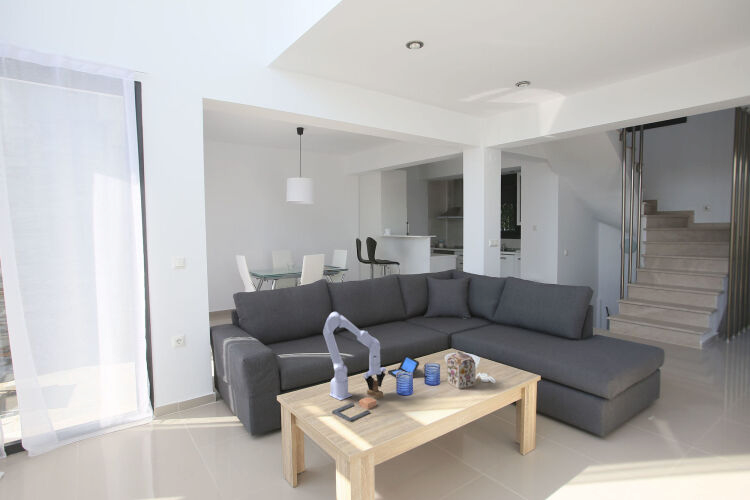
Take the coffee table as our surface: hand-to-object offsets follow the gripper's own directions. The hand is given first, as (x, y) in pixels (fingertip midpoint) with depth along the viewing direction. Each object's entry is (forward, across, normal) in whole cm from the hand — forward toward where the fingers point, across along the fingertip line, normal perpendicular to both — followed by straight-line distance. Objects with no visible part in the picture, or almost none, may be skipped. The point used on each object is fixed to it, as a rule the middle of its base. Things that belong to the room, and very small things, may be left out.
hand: (375, 388), depth 218 cm
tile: (+4, -11, -6) cm, 13 cm away
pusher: (+4, 0, 0) cm, 4 cm away
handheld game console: (+4, +32, +9) cm, 34 cm away
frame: (+4, -22, -6) cm, 23 cm away
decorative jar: (+4, +44, -24) cm, 50 cm away
